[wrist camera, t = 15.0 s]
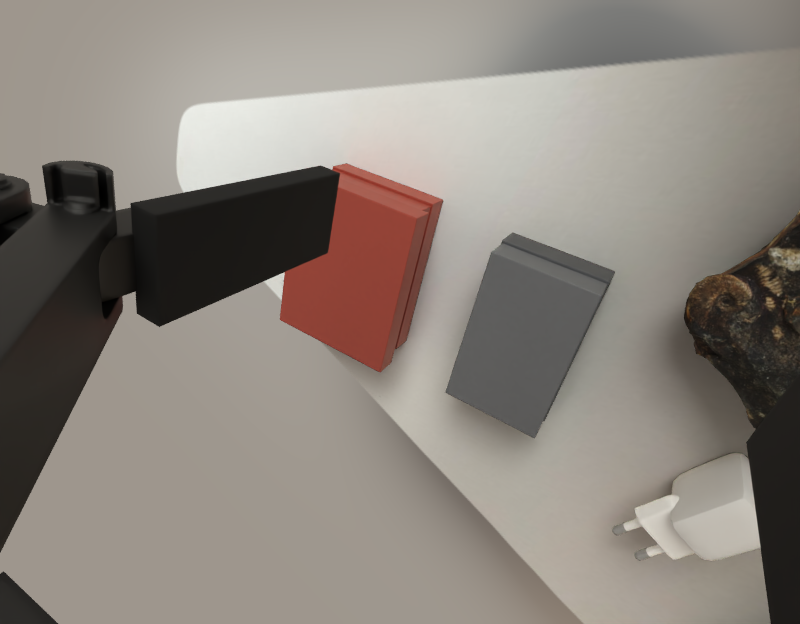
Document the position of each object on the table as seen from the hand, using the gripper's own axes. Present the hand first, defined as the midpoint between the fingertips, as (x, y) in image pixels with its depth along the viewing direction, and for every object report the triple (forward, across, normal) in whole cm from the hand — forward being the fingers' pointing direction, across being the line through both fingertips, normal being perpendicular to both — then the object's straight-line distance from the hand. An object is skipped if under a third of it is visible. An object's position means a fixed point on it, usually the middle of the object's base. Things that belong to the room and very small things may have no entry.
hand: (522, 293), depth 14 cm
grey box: (+25, -2, -13) cm, 28 cm away
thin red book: (+21, -17, -13) cm, 30 cm away
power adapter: (+25, +14, -21) cm, 35 cm away
